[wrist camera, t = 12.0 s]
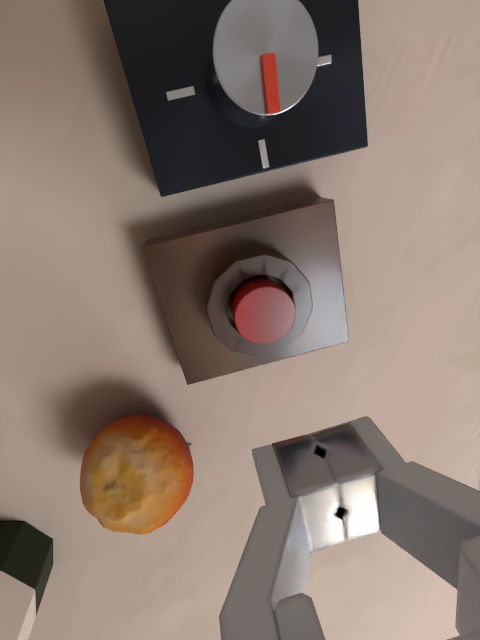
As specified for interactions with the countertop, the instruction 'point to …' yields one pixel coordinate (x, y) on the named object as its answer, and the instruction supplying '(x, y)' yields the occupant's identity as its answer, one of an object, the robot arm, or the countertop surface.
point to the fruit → (136, 474)
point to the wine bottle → (22, 577)
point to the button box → (240, 267)
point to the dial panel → (199, 109)
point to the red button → (262, 311)
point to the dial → (261, 59)
